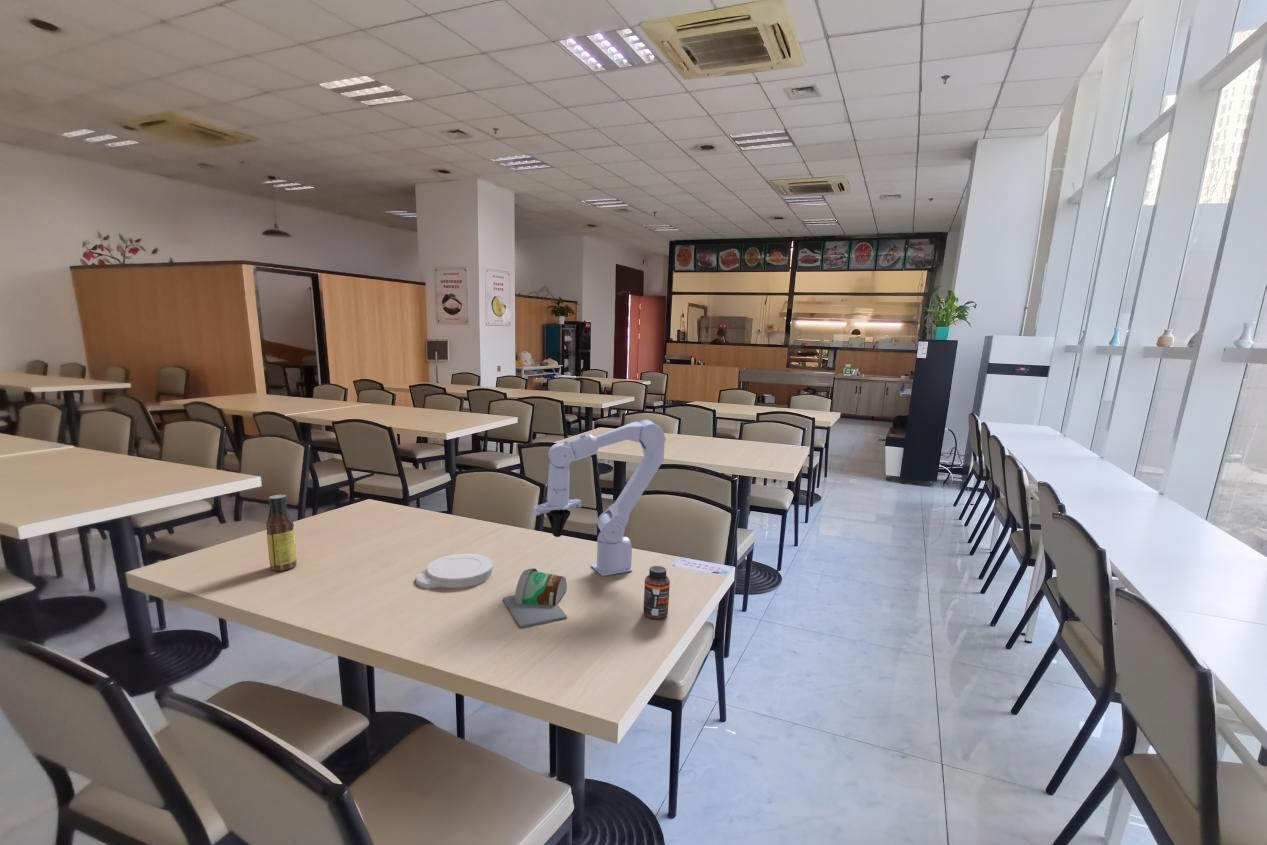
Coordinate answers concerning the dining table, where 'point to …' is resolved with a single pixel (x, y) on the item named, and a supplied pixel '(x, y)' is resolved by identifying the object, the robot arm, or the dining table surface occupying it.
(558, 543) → the dining table surface
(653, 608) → the supplement bottle
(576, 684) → the dining table surface
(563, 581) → the food container
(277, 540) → the sauce bottle
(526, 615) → the mat
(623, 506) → the robot arm
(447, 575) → the lid
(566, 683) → the dining table surface
